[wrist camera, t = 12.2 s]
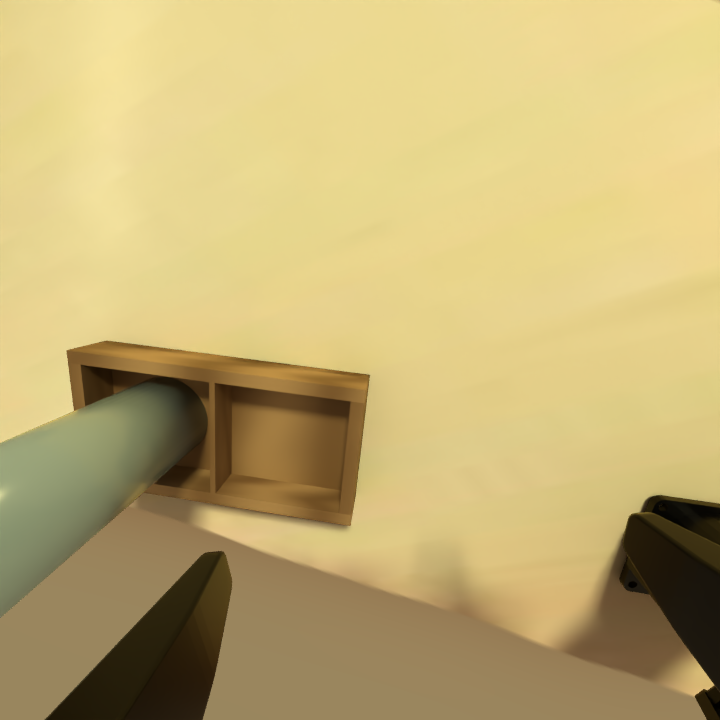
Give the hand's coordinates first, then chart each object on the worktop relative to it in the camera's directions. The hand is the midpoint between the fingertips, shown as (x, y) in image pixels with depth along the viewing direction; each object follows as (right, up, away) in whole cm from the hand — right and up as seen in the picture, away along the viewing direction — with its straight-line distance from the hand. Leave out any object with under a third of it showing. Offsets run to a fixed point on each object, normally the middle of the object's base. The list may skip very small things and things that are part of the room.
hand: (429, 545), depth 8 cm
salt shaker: (-13, +1, +13) cm, 19 cm away
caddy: (-9, 0, +14) cm, 16 cm away
